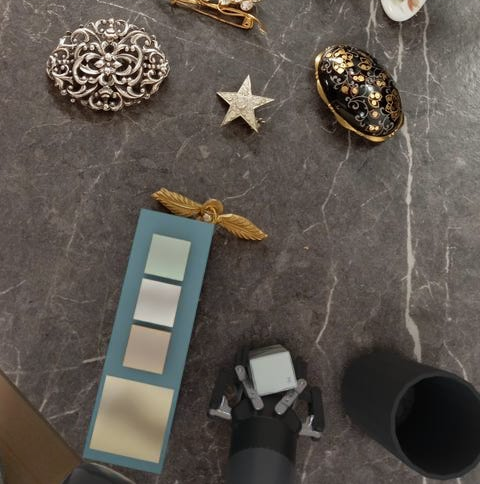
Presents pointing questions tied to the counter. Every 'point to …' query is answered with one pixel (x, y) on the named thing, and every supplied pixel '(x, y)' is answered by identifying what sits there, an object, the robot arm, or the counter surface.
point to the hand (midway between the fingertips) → (271, 354)
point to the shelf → (181, 329)
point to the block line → (144, 362)
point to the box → (271, 370)
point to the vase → (416, 413)
